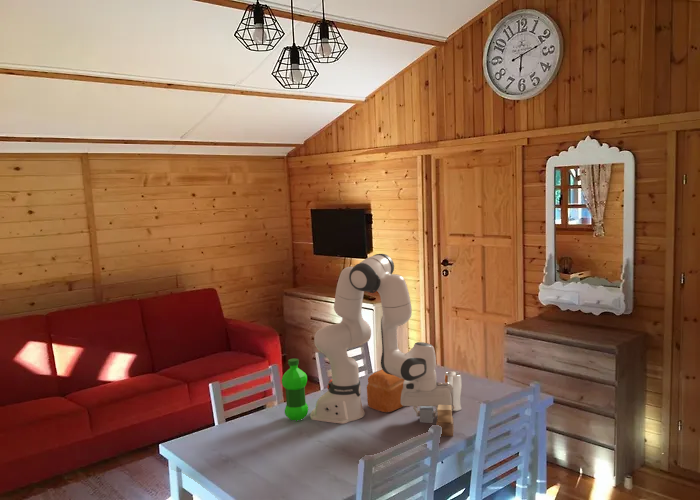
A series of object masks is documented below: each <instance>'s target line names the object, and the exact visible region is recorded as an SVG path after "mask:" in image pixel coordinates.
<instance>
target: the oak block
mask: <svg viewBox="0 0 700 500" xmlns="http://www.w3.org/2000/svg"><path fill="white" fill-rule="evenodd" d="M437 417H438V422H439V423H451V422H452V417H453V411H452V405H438V409H437Z"/></svg>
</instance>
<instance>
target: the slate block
mask: <svg viewBox="0 0 700 500" xmlns="http://www.w3.org/2000/svg"><path fill="white" fill-rule="evenodd" d="M419 411H420V416H419V423H425V424H426V423H428V424H429V423H431V424H433V423H434V419H435V417H433V411H434V406H419Z"/></svg>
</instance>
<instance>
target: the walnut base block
mask: <svg viewBox="0 0 700 500" xmlns="http://www.w3.org/2000/svg"><path fill="white" fill-rule="evenodd" d="M435 425H439V426H441V427H442V434H441V436H440V437H454V433H455V432H454V430H455V429H454V428H455V425H454V417H453V416H452V422H451V423H439V422H438V416H437V417H436V422H435Z"/></svg>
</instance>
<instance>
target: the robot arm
mask: <svg viewBox="0 0 700 500" xmlns="http://www.w3.org/2000/svg"><path fill="white" fill-rule="evenodd" d="M394 271H395V264H394V261H393V259H392V258H391V257H390V256H389V255H387V254H384V253H376V254H374V255H371V256H369V257H367V258H364V260H362V261H360V262H359V263H357V264H355V265H354V266H347V267H345V268H343V269H342V270H341V271H340V275H339V276H338V277H339V278H338V281H337V284H336V288H335V296H334V297H335V298H334V303H333V304H334V305H333V309H334V312H335V313H336V315H337V316H338V317H340V318H341V321H340V322H338V323H333V324H329V325H325V326H323V327H322V328H320V329H318V330H317V331H316V332H315V334H314V336H313V338H314V339H313V340H314V341H313V342H314V345H315V347H316V349H317V350H318V351H319V352H320V353H322V354H323V355H324V356H325V357H326V359H328V362H329V365H330V370H331V371H330V372H331V379H329V381H328V384H327V387H326V388H327V391H326V392H324V393H323V394H322V395H321V396H319V397H318V399H317V401H316V403H315V408H313V409H312V410H311V412H310V414H309V415H310V416H309V418H310V420H312V421H318V422H319V421H320V422H328V423H333V424H334V423H335V424H343V425H344V424H347V423H349V422H353V421H357V420H359V419H361V418H363V417H364V416H365V414H366V413H365V410H364V408H363V407H364V406H363V402H362V398H361V394H362V389H361V381H360V376H359V375H360V373H359V363H358V362H357V360H356V359H354V357H350V356H349V355H348V351H347V350H348V349H352V348H356V347H360V346H361V345H362V346H363V345H364V344H366V343H368V342H369V341H370V339H371V336H372V329H371V326H370V324H369V323H368V322H367V321H366V320H364V318H363V316H362V315H363V314H362V307H363V301H364V293H365V292H367V293H369V294H374V293H376V292H378V294H379V297H380V302H381V312H382V316H381V321H380V330H381V331H380V332H381V333H380V334H381V356H380V366H381V370H382V369H383V371H384V372H385V373H387V374H390V375H394V376H396V377H398V378H401V379H404V382H403V389H402V392H401V405H402V406H403V407H413V409H414V412H415V414H416V417H419V418H420V410H419V409H418V407H420V406H433V407H435V410H433V417H434V418H437V417H438V412H437V409H438V405H452V398H451V393H452V386H451V385H450V384H448V383H445V382H437V380H438V379H437V371H436V365H437V360H436V359H437V358H436V352H435V347H434V346H433V345H432V344H430V343H427V342H422V341H421V342H420V341H419V342H417V341H416V342H414V344H413V347H412V348H411V349H410V350H409V351H408V352H406V353H405V352H403V351H401V350H400V348H399V345H398V328H399V327H401V326H403V325H405V324H406V323H408V322H409V321H410V319H411V318H412V302H411V301H412V300H411V295H410V293H409V288H408V285H407V283H406V280H405V278H404V277H403V276H402V275H400V274H395V273H394Z"/></svg>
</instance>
